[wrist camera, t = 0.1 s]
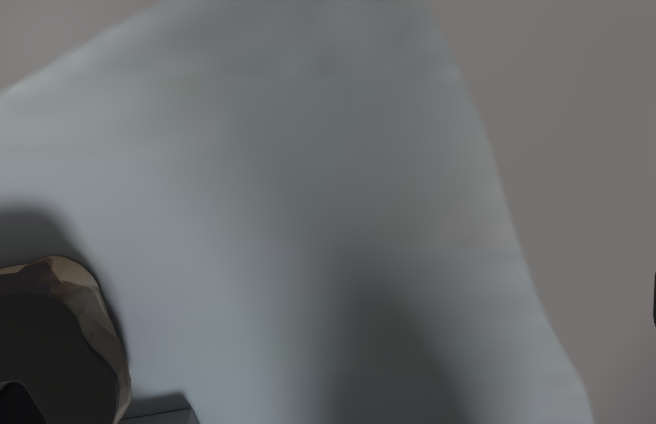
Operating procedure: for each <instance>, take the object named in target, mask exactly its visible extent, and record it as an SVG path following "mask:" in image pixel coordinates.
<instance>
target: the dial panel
mask: <svg viewBox="0 0 656 424" xmlns="http://www.w3.org/2000/svg"><path fill="white" fill-rule="evenodd" d="M117 424H199V423H198V420H197V418H196V416H195V414H194V412H193V410H192V409H186V410H180V411H174V412H168V413H161V414H155V415H149V416H143V417H137V418H131V419H125V420H119V422H118V423H117Z"/></svg>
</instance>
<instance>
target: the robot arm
mask: <svg viewBox="0 0 656 424" xmlns="http://www.w3.org/2000/svg"><path fill="white" fill-rule="evenodd" d="M653 317H654V323H655V326H656V274H655V284H654V306H653ZM0 424H47V422H46V419H45V417H44V415H43V413H42V412H41V410H40V408H39V407H38V405H37V404H36V402H35V401H34V399H33V397H32V396H31V394H30V393H29V391H28V389H27V388H26V386H25V385H24V384H23V383H21V382H20V381H16V380H11V381H5V382H0Z"/></svg>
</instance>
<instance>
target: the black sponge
mask: <svg viewBox="0 0 656 424" xmlns="http://www.w3.org/2000/svg"><path fill="white" fill-rule="evenodd" d="M11 380H16V381H20V382H21V383H23V384H24V385H25V386H26V388H27V389H28V391H29V393H30V394H31V396H32V397H33V399H34V401H35V402H36V404H37V405H38V407H39V408H40V410H41V412H42V413H43V415H44V417H45V419H46V422H47V424H117V423H118V422H119V420H120V419H121V418H122V416H123V415H124V413H125V411H126V409H127V408H128V406H129V404H130V403H131V378H130V374H129V370H128V365H127V360H126V356H125V353H124V351H123V348H122V345H121V343H120V341H119V339H118V337H117V334H116V331H115V329H114V326H113V324H112V321H111V319H110V317H109V314H108V311H107V308H106V305H105V302H104V300H103V297H102V295H101V292H100V290H99V287H98V284H97V283H96V281H95V280H94V278H93V276H92V275H91V274H90V273H89V272H88V271H87V270H86V269H85V268H84V267H82V266H81V265H80V264H78V263H76V262H74V261H72V260H70V259H68V258H65V257H60V256H49V257H46V258H43V259H41V260H38V261H36V262H34V263H31V264H25V265H17V266H11V267H6V268H0V382H5V381H11Z"/></svg>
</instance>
